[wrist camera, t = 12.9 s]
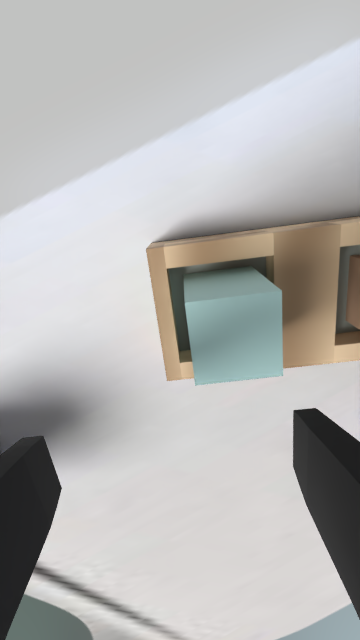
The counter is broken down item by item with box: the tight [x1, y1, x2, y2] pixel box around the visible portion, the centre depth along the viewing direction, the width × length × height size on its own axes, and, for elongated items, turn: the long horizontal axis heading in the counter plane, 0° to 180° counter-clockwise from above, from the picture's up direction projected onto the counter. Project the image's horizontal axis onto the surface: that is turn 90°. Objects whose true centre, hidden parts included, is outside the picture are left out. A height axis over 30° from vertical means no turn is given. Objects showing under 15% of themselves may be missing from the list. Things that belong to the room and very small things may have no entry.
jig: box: [146, 216, 360, 381], centre depth 16 cm, size 18×7×3 cm, turn 97°
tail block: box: [183, 266, 283, 385], centre depth 14 cm, size 4×4×5 cm
